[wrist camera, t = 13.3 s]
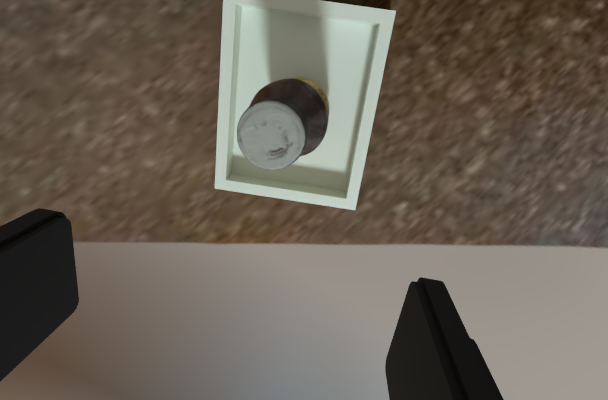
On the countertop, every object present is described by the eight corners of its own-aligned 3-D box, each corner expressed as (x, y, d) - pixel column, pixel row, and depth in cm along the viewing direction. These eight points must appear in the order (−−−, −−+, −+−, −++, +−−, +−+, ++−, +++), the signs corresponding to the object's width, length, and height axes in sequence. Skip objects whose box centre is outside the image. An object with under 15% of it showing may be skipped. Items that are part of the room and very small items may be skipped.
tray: (390, 15, 36) (396, 11, 33) (353, 199, 43) (355, 210, 40) (233, -7, 36) (223, -14, 33) (223, 178, 44) (214, 188, 40)
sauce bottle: (323, 140, 40) (313, 208, 22) (268, 129, 40) (211, 188, 22) (335, 80, 38) (336, 97, 19) (277, 68, 38) (222, 75, 19)
